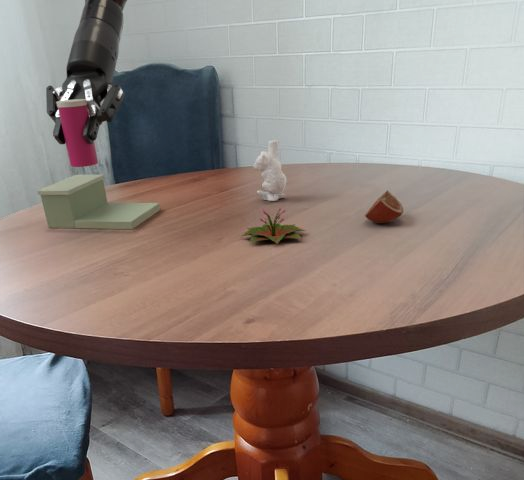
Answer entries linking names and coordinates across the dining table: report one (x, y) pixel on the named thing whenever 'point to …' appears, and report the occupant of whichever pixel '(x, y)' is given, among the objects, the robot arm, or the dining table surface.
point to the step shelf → (90, 205)
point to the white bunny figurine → (271, 173)
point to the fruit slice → (385, 209)
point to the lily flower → (273, 230)
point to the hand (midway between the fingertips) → (73, 140)
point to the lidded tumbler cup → (76, 132)
